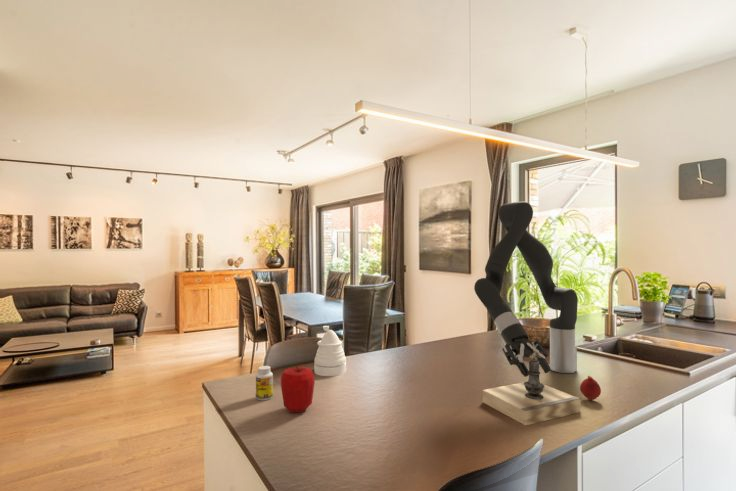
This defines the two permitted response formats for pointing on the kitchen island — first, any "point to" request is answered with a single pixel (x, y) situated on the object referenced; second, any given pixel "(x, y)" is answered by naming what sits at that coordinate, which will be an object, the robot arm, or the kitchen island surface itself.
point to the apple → (297, 388)
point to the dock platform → (531, 403)
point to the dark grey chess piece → (534, 381)
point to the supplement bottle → (264, 383)
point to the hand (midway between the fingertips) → (538, 373)
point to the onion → (590, 388)
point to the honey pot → (330, 355)
